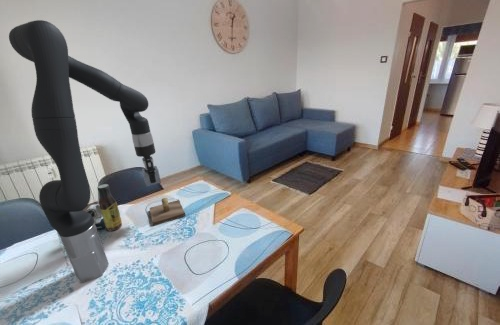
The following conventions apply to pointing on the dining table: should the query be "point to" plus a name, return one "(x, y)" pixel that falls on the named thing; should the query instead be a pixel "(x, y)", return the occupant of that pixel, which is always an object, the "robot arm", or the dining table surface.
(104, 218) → the sauce bottle
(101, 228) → the watch
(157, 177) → the grey hollow cube
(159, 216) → the post board
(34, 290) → the dining table surface
